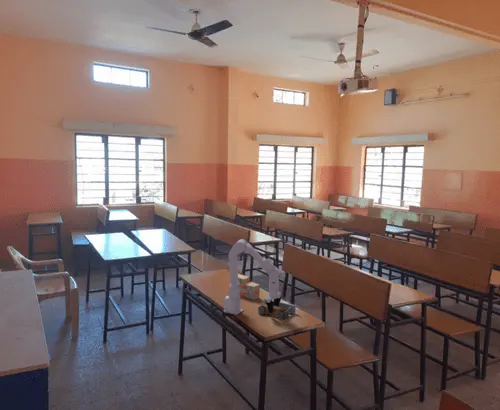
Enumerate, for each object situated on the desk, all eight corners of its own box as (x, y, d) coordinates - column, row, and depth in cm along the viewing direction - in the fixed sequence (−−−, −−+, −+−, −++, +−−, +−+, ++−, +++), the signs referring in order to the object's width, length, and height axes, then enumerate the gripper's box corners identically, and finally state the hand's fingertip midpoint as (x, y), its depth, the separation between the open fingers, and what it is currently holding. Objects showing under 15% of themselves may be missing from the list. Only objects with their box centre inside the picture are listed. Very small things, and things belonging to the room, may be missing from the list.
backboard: (260, 308, 237) (260, 301, 236) (264, 306, 241) (264, 298, 241) (292, 316, 226) (292, 308, 226) (295, 313, 231) (295, 305, 230)
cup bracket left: (258, 313, 230) (258, 307, 229) (263, 309, 236) (263, 303, 235) (264, 315, 228) (264, 308, 227) (269, 311, 234) (269, 304, 233)
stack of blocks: (259, 298, 255) (259, 280, 254) (253, 300, 251) (253, 282, 249) (237, 290, 270) (237, 273, 269) (230, 292, 266) (230, 274, 264)
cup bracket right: (288, 315, 228) (289, 309, 227) (283, 319, 222) (283, 313, 221) (282, 314, 230) (282, 307, 229) (277, 318, 224) (277, 311, 223)
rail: (261, 313, 231) (261, 305, 230) (264, 311, 234) (264, 303, 233) (282, 318, 224) (283, 310, 223) (285, 316, 227) (285, 308, 226)
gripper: (274, 293, 218) (274, 316, 220) (285, 285, 231) (284, 307, 233) (263, 290, 222) (263, 313, 224) (274, 283, 234) (274, 305, 236)
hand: (273, 310), depth 228 cm, fingers open, 7 cm apart
